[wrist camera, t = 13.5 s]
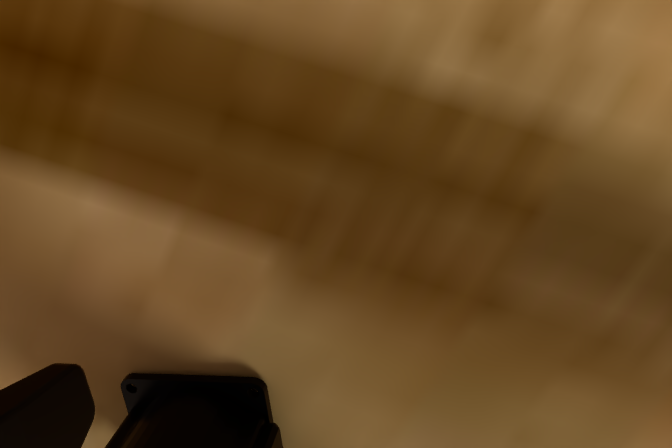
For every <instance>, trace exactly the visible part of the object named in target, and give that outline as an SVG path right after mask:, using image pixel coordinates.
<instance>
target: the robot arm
mask: <svg viewBox="0 0 672 448" xmlns="http://www.w3.org/2000/svg"><path fill="white" fill-rule="evenodd" d="M132 384H133V385H135V386H136V387H134V386H133V385H132ZM251 388H254V389H256V390H257V391H258V392H255V391H253V390H251ZM121 390H122V393H123V397H124V400H125V403H126V407H127V410H128V415H127V417H126V418H125V419H124V421H123V422H122V424H121V425H120V427H119V428H118V429H117V431H116V432H115V434H114V435H113V437H112V438H111V439H110V441H109V442H108V444H107V445H106V447H105V448H283V445H282V440H281V434H280V428H279V427H278V426H277V424H276V423H273V417H272V412H271V406H270V400H269V395H268V389H267V386H266V383H265V382H264V381H263V380H261V379H259V378H256V377H234V376H203V375H172V374H141V373H132V374H128V375H127V376H126V377H125V379H124V380H123V381H122V383H121ZM94 415H95V405H94V401H93V398H92V395H91V392H90V389H89V385H88V382H87V379H86V376H85V373H84V371H83V369H82V368H81V367H80V366H79V365H77V364H64V363H56V364H52V365H50V366H48V367H46V368H44V369H42V370H40V371H38V372H36V373H34V374H32V375H30V376H28V377H26V378H24V379H22V380H20V381H18V382H16V383H14V384H12V385H10V386H8V387H6V388H4V389H2V390H0V448H81V447H82V445H83V442H84V440H85V438H86V436H87V433H88V431H89V429H90V427H91V424H92V422H93V419H94Z"/></svg>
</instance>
